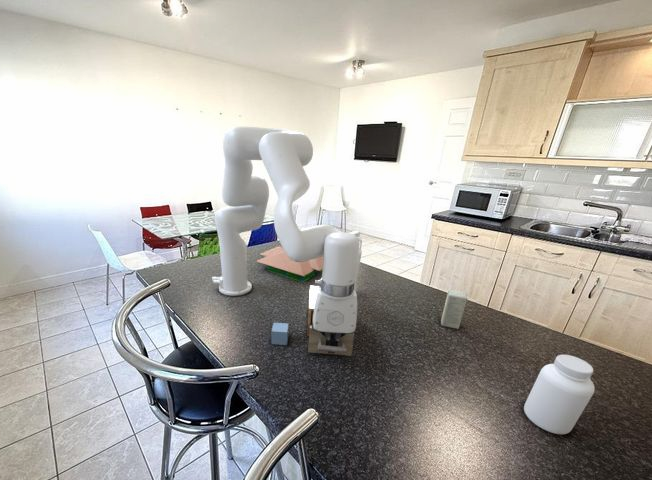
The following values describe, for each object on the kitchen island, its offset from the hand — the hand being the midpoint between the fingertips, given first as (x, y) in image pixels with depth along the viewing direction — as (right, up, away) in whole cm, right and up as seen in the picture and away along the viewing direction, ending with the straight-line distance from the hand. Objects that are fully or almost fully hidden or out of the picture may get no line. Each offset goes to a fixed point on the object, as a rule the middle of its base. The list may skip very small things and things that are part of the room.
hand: (331, 349), depth 76 cm
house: (-9, +23, +59) cm, 64 cm away
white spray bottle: (+11, +11, +35) cm, 38 cm away
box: (+41, +3, +19) cm, 45 cm away
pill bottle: (+43, -11, -14) cm, 47 cm away
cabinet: (+2, +4, +17) cm, 18 cm away
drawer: (0, 0, +7) cm, 7 cm away
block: (-13, 0, +9) cm, 16 cm away
